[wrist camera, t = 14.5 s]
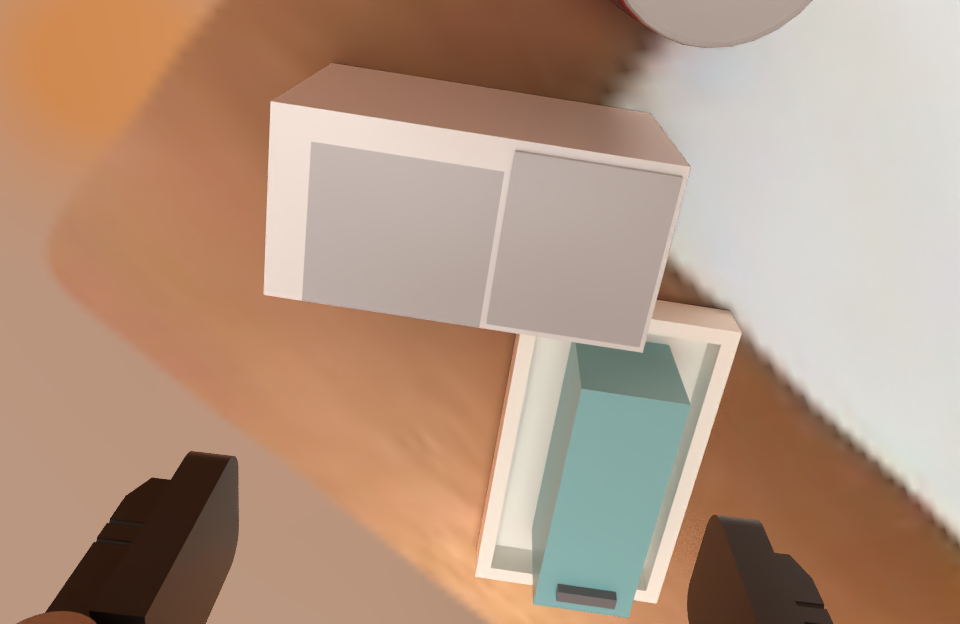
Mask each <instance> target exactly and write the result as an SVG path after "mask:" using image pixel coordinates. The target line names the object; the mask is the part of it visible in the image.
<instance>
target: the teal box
mask: <svg viewBox="0 0 960 624" xmlns="http://www.w3.org/2000/svg"><path fill="white" fill-rule="evenodd" d="M690 406H691V404H690V401H689V398H688V396H687V393H686V390H685V388H684V385H683V382H682V379H681V377H680V374H679V371H678V368H677V366H676V363H675V360H674V357H673V355H672V352H671V349H670V346H669V345H666V344H659V343H652V342H645V346H644V350H643V353H641V352H635V351H628V350H622V349H615V348H609V347H602V346H595V345H589V344H582V343H576V342H571V347H570V352H569V356H568V361H567V366H566V370H565V375H564V380H563V384H562V389H561V394H560V398H559V403H558V408H557V413H556V417H555V422H554V427H553V431H552V436H551V441H550V445H549V450H548V455H547V459H546V464H545V469H544V473H543V478H542V483H541V488H540V492H539V497H538V502H537V506H536V511H535V516H534V520H533V525H532V569H533V604H535V605H542V606H549V607H556V608H563V609H570V610H577V611H583V612H590V613H597V614H604V615H611V616H618V617H625V618H628V617H629V614H630V610H631V607H632V604H633V600H634V597H635V593H636V590H637V587H638V583H639V580H640V576H641V573H642V569H643V566H644V563H645V559H646V556H647V552H648V549H649V546H650V542H651V539H652V535H653V532H654V529H655V525H656V522H657V518H658V515H659V512H660V508H661V505H662V501H663V498H664V495H665V491H666V488H667V484H668V481H669V478H670V474H671V471H672V467H673V464H674V461H675V457H676V454H677V450H678V447H679V444H680V440H681V437H682V433H683V430H684V427H685V423H686V420H687V416H688V413H689V410H690Z"/></svg>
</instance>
